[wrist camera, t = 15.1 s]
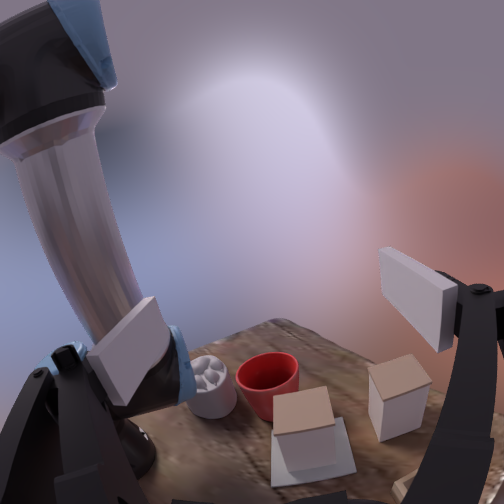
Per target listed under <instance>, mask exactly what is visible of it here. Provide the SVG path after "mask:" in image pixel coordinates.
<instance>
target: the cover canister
mask: <svg viewBox="0 0 504 504" xmlns="http://www.w3.org/2000/svg"><path fill="white" fill-rule="evenodd" d="M334 426H335V420H334V416H333V412H332V408H331V403H330V399H329V395H328V391H327V388H326V386H323V387H318V388H314V389H309V390H304V391H299V392H293V393H288V394H282V395H275V396H273V435H274V437H276V438H277V441H278V444H279V447H280V450H281V453H282V456H283V459H284V462H285V465H286V468H287V471H288V472H292V471H299V470H305V469H311V468H317V467H322V466H327V465H332V464H336V450H335V436H334Z"/></svg>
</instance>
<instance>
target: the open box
mask: <svg viewBox="0 0 504 504" xmlns="http://www.w3.org/2000/svg"><path fill="white" fill-rule="evenodd" d="M418 469H419V468H418ZM418 469H417V470H415V471H413V472H411V473H410V474H408V475H406V476H404V477H403V478H401V479H399V480H397V481H395V482H394V484H393V487H392V490H391V492H390V494H391V495H392V497H393V499H394V500H395V502H396V503H397V504H400V503H401V502H402V500H403V498H404V496H405V495H406V493H407V491H408V489H409V487H410V485H411V483H412V481H413V479H414V477H415V475H416V473H417V471H418Z"/></svg>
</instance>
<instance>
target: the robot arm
mask: <svg viewBox="0 0 504 504" xmlns="http://www.w3.org/2000/svg"><path fill="white" fill-rule="evenodd" d="M117 83H118V81H117V77H116V74H115V70H114V66H113V62H112V58H111V54H110V49H109V45H108V41H107V36H106V32H105V27H104V22H103V17H102V12H101V7H100V1H99V0H47V1H46V2H43V3H41V4H39V5H36V6H34V7H31V8H29V9H27V10H25V11H23V12H21V13H19V14H17V15H15V16H13V17H11V18H9V19H7V20H5V21H3V22H2V23H0V154H1V155H3V156H5V157H7V158H9V159H10V160H11V161H12V162H13V163H14V164H15V168H16V172H17V176H18V180H19V183H20V186H21V190H22V193H23V196H24V200H25V203H26V206H27V209H28V212H29V215H30V217H31V220H32V223H33V226H34V228H35V231H36V233H37V236H38V238H39V241H40V243H41V245H42V248H43V250H44V253H45V254H46V257H47V259H48V262H49V264H50V266H51V268H52V270H53V272H54V274H55V276H56V278H57V280H58V282H59V284H60V286H61V288H62V290H63V292H64V294H65V295H66V298H67V300H68V301H69V303H70V305H71V307H72V308H73V310H74V312H75V314H76V315H77V317H78V319H79V320H80V322H81V324H82V325H83V327H84V329H85V330H86V332H87V333H88V335H89V337H90V338H91V340H92V341H93V345H92V350H91V351H87V347H86V346H85V345H84V344H83V343H82V342H79V341H78V342H76V341H75V342H70V343H67V344H65V345H63V346H61V347H59V348H57V349H56V350H54V351H52V352H51V353H50V354H48V355H47V356H46V357H45V358H43V359H42V360H41V361H40V363H39V364H38V365H37V366H36V368H35V369H34V371H33V372H32V373H31V374H30V375H29V377H28V379H27V380H26V382H25V384H24V386H23V388H22V390H21V392H20V393H19V395H18V398H17V399H16V401H15V403H14V405H13V407H12V409H11V412H10V414H9V416H8V418H7V420H6V422H5V424H4V427H3V429H2V431H1V433H0V504H149V502H148V500H147V498H146V496H145V495H144V493H143V491H142V489H141V487H140V485H139V483H138V481H137V479H139V478H140V477H142V476H143V475H144V474H145V473H146V472H147V471H148V470H149V468H150V467H151V465H152V463H153V461H154V458H155V447H154V444H153V442H152V440H151V439H150V438H149V436H148V435H147V433H146V432H145V431H144V430H142V429H141V428H140V427H138V426H137V425H136V424H134V423H133V422H132V421H130V420H129V419H128V418H130V417H134V416H138V415H141V414H145V413H149V412H153V411H156V410H160V409H164V408H167V407H171V406H177V405H179V404H180V403H182V402H184V401H187V400H190V399H192V398H193V397H194V396H195V395H196V393H197V384H196V379H195V375H194V372H193V368H192V365H191V364H190V359H189V354H188V351H187V348H186V345H185V342H184V339H183V336H182V333H181V331H180V329H179V328H178V327H177V326H167V325H166V323H165V322H164V320H163V318H162V315H161V312H160V310H159V307H158V304H157V301H156V298H155V296H153V297H148V298H143V296H142V293H141V291H140V288H139V286H138V283H137V280H136V278H135V275H134V273H133V270H132V267H131V264H130V262H129V259H128V256H127V253H126V250H125V247H124V244H123V242H122V238H121V235H120V232H119V229H118V226H117V223H116V219H115V216H114V213H113V209H112V206H111V202H110V199H109V195H108V192H107V188H106V184H105V180H104V176H103V172H102V168H101V163H100V159H99V155H98V150H97V145H96V140H95V134H94V131H95V126H96V124H97V122H98V121H99V119H100V118H101V116H102V115H103V113H104V111H105V110H106V105H105V98H104V91H110V90H111V89H112V88H114V87H116V85H117ZM378 253H379V263H380V273H381V286H382V294H383V295H384V296H385V297H386V299H388V301H389V302H391V303H392V305H393V306H394V307H395V308H396V309H397V310H398V311H399V312H400V313H401V314H402V315H403V316H404V317H405V318H406V319H407V320H408V321H409V322H410V323H411V325H412V326H413V327H414V328H415V329H416V330H417V331H418V332H419V333H420V334H421V335H422V336H423V337H424V339H425V340H426V341H427V342H428V343H429V344H430V345H431V346H432V347H433V348H434V350H435V351H436V352H437V353H439V352H442V351H444V350H447V349H449V348H451V347H452V345H453V338H454V334H455V335H456V336H457V337H458V338H459V339H458V346H457V351H456V356H455V361H454V366H453V370H452V375H451V379H450V383H449V387H448V390H447V394H446V398H445V401H444V404H443V408H442V411H441V414H440V417H439V420H438V423H437V426H436V429H435V431H434V433H433V436H432V438H431V441H430V443H429V446H428V448H427V451H426V453H425V456H424V458H423V460H422V462H421V465H420V467H419V469H418V471H417V473H416V475H415V477H414V479H413V481H412V483H411V485H410V487H409V489H408V491H407V493H406V495H405V496H404V498H403V500H402V502H401V503H400V504H478V503H479V500H480V497H481V494H482V491H483V488H484V485H485V481H486V478H487V474H488V470H489V467H490V463H491V458H492V454H493V449H494V438H490V432H491V426H492V420H493V413H494V405H495V395H496V382H497V341H498V343H499V346H500V349H501V352H502V355H503V358H504V290H502V291H497V292H493V289H492V288H491V287H490V286H488V285H485V284H472V285H469V286H467V285H465V284H464V283H462V282H460V281H459V280H456V279H455V278H453V277H451V276H450V275H448V274H446V273H445V272H441V271H436V270H435V271H434V270H432V269H430V268H428V267H427V266H425V265H423V264H421V263H420V262H418V261H416V260H414V259H412V258H411V257H409V256H407V255H405V254H403V253H401V252H399V251H398V250H396V249H394V248H392V247H390V246H389V247H385V248H381V249H378ZM48 411H49V412H48ZM171 504H213V503H208V502H193V501H183V500H175V499H172V502H171ZM286 504H388V503H384V502H380V501H374V500H365V499H347V495H346V490H345V491H340V492H336V493H331V494H326V495H321V496H315V497H309V498H302V499H298V500H295V501H292V502H289V503H286Z"/></svg>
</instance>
